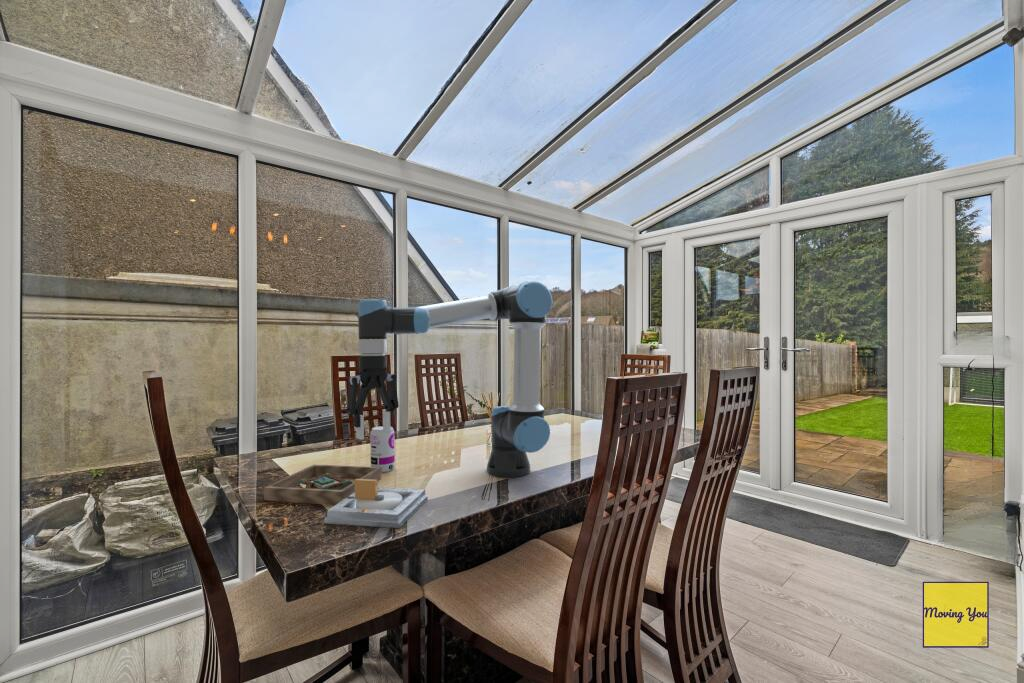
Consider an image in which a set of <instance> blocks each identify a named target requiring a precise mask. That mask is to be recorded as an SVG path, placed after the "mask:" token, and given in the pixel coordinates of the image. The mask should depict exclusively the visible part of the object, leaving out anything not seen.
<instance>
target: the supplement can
mask: <svg viewBox="0 0 1024 683" xmlns="http://www.w3.org/2000/svg"><path fill="white" fill-rule="evenodd" d="M369 437H370V438H369V439H370V441H369V442H370V467H382V473H388V472H392V471H393V470H394V469H395V466H396V463H395V461H396V460H395V459H396V457H395V456H396V454H395V450H396V448H395V430H394V428H393V426H390V435H387V434H383V425H381V426H375V427H372V428H371V431H370V433H369Z"/></svg>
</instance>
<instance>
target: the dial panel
mask: <svg viewBox="0 0 1024 683" xmlns="http://www.w3.org/2000/svg"><path fill="white" fill-rule="evenodd" d="M377 487H378V492H394V493H398V494H400V495H401V496H402V503H401V504H400V505H398V506H397V507H396V508H395V509H394V510H378V509H368V508H365V509H361V508H356V500H357V499H356V498H355V492H354V493H353V494H351V495H350V496H348V497H347V498H345V499H344V500H342V501H341V502H339V503H338V504H336V505H332V507H330V508H329V509H328V510H327V512H326V513H327V514H326V517H325V518H324V520H323V521H324V524H329V525H346V526H360V527H361V526H362V527H377V528H379V527H380V528H391V529H393V528H394V529H400V528H401V527H402V526H403V525H404V524H405V523H406V522H407V521H408V520H409V519H410V518H412V516H414V514H415V513H416V512H418V510H419V509H420V508H421V507H422V506H424V504H425V503H426V502H427V501H428V497H429V495H426V488H425V489H424V488H423V489H422V488H421V489H420V488H406V487H404V488H402V487H382V486H377Z"/></svg>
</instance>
